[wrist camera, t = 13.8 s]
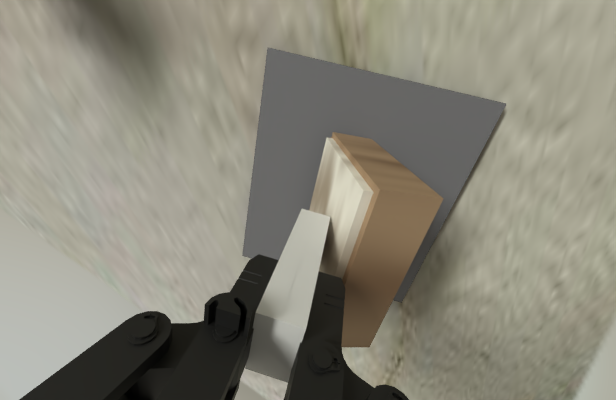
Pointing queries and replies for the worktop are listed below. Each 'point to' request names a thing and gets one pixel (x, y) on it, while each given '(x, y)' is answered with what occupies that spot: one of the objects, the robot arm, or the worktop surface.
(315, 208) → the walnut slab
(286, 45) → the worktop surface
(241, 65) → the worktop surface
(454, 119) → the mat
